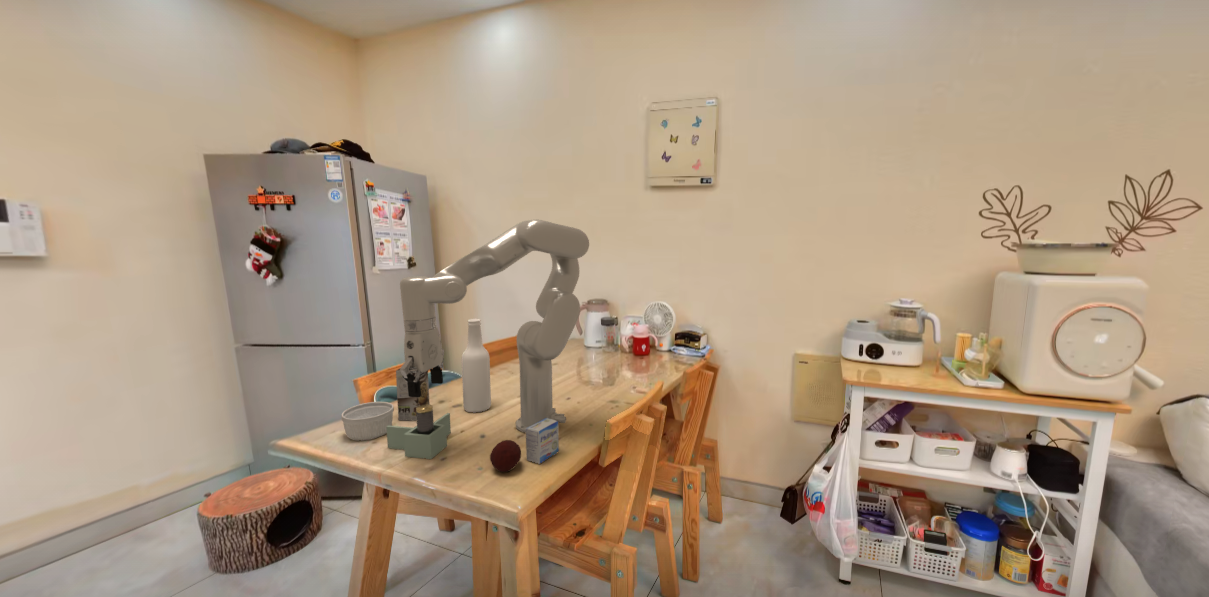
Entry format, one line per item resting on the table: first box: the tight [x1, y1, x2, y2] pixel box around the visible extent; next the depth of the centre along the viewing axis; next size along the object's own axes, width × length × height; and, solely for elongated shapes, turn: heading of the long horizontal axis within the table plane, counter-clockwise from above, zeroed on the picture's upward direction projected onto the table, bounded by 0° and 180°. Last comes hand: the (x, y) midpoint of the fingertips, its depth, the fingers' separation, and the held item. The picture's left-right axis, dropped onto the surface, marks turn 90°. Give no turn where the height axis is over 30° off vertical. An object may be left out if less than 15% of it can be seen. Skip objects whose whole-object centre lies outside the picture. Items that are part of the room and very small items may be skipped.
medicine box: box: [525, 418, 560, 465], centre depth 110 cm, size 8×4×9 cm, turn 148°
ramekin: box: [340, 401, 395, 441], centre depth 124 cm, size 13×13×7 cm
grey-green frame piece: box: [386, 412, 452, 460], centre depth 117 cm, size 15×15×6 cm
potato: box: [489, 439, 522, 473], centre depth 104 cm, size 7×8×7 cm
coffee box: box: [395, 367, 431, 422], centre depth 136 cm, size 9×6×16 cm
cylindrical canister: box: [416, 404, 435, 435], centre depth 112 cm, size 4×4×12 cm
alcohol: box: [461, 318, 492, 414], centre depth 141 cm, size 9×9×30 cm
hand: (426, 389), depth 111 cm, fingers open, 9 cm apart
